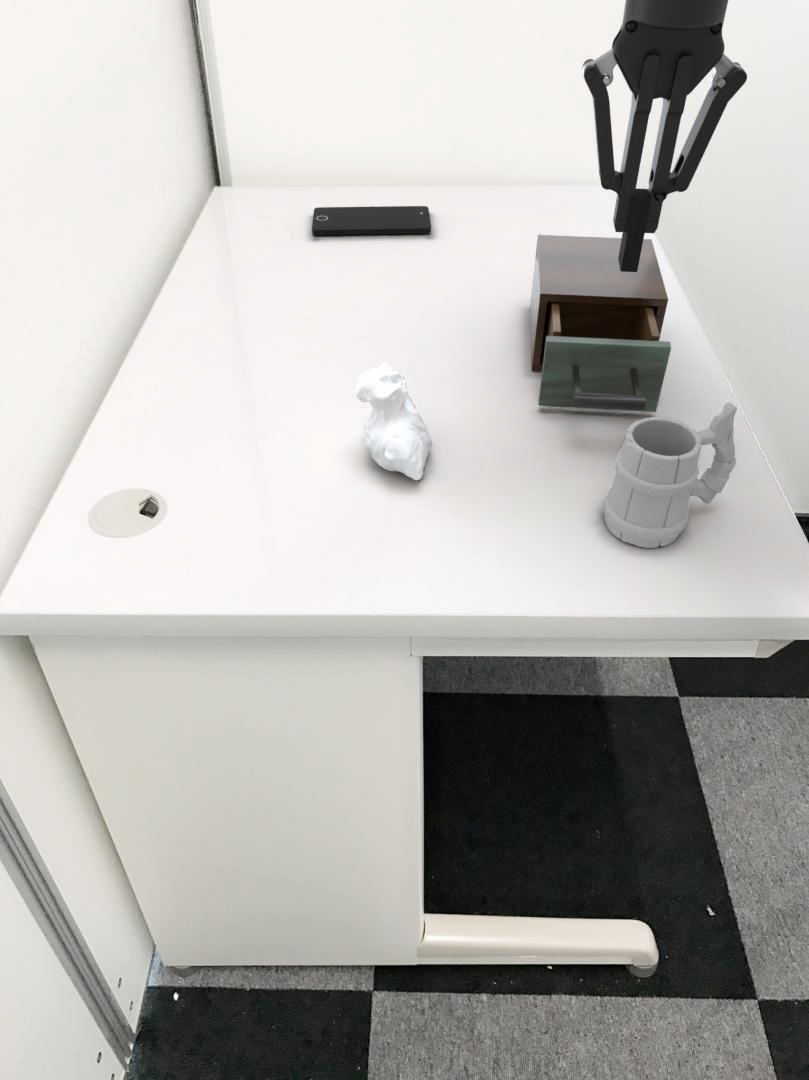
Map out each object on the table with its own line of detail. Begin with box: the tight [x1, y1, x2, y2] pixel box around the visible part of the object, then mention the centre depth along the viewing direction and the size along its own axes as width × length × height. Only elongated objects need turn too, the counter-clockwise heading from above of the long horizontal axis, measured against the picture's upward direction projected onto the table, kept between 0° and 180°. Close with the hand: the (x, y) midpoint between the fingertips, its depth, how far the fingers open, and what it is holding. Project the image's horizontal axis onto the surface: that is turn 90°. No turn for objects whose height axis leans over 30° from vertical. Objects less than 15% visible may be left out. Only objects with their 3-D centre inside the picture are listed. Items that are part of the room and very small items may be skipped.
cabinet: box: [529, 234, 669, 373], centre depth 102 cm, size 16×14×10 cm
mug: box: [603, 402, 738, 549], centre depth 76 cm, size 8×12×12 cm, turn 106°
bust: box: [355, 362, 433, 481], centre depth 84 cm, size 12×8×11 cm
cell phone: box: [311, 205, 432, 236], centre depth 131 cm, size 9×18×1 cm, turn 92°
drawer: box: [538, 301, 672, 413], centre depth 92 cm, size 21×13×8 cm, turn 174°
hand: (627, 265), depth 79 cm, fingers closed
